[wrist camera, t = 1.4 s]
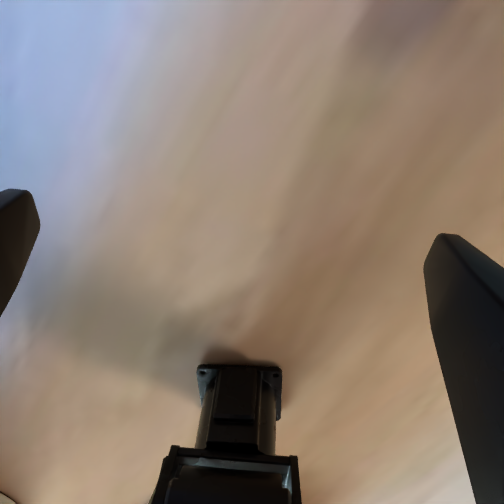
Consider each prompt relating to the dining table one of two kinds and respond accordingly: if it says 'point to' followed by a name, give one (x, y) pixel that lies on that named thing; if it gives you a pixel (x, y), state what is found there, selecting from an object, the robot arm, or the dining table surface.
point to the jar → (5, 500)
